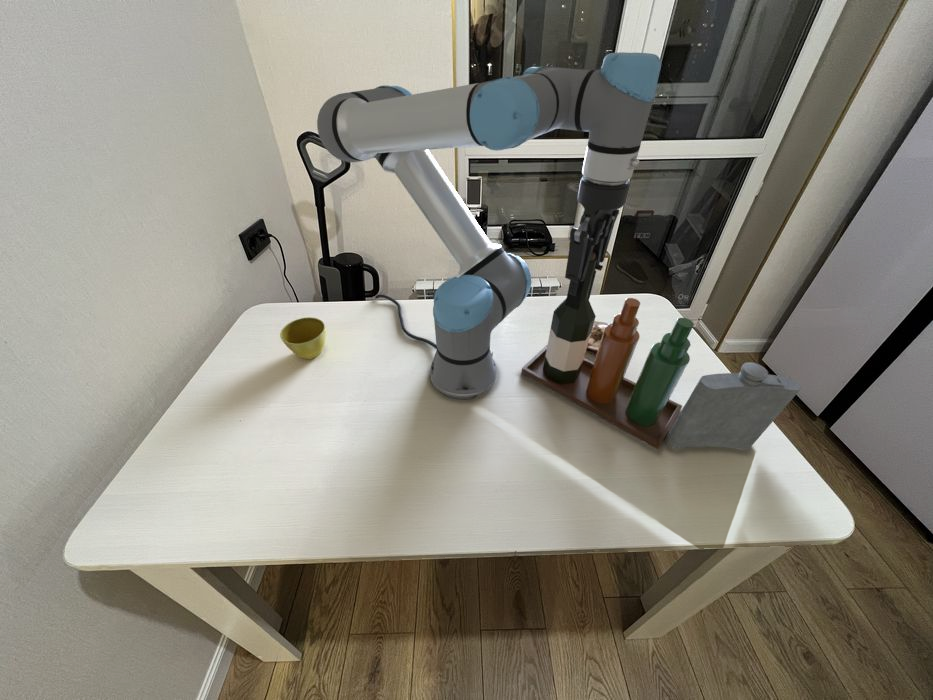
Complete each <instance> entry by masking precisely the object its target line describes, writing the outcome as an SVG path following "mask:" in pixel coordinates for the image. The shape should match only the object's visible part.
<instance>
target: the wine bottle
mask: <svg viewBox="0 0 933 700" xmlns="http://www.w3.org/2000/svg"><path fill="white" fill-rule="evenodd" d="M595 256H596V254H595V253H594V252H592V255H591V258H590V261H589V264H588V268H587V271H586V274H585V278H584V279H586V283H585V287H584V291H583V296H582V300H581V304H580V307H579V309H578V310H576V309H573V308H571V307H569V306H566V305H565V303H566V298H565V299H564V300H562V302H560V303H559V305H558V306H557V307H556V308H555V309H554V311H553V313H552V319H551V323H550V330H549V336H548V340H547V344H546V346H547V350H546V355H545V361H544V366H543V370H544V373H545V375H546V377H547V379H549V380H551V381H553V382H556V383H558V384H560V385H562V384H569V383H574V382H575V380H576V379H577V377H578V376H579V374H580V370H581V367H582V363H583V360H584V358H585V356H586V353H587V352H586V349H587V345H588V342H589V338H590V335H591V331H592V328H593V324H594V321H596V317H597V316H596V313H595V311H594V309H593V307H592V305H591V302H590V299H589V300H588V294H589V290H590V286H591V282H592V278H593V274H594V270H595V271H596V269H595V266H596V262H597V258H596V257H595Z"/></svg>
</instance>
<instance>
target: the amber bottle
mask: <svg viewBox="0 0 933 700" xmlns="http://www.w3.org/2000/svg"><path fill="white" fill-rule="evenodd" d="M640 306H641V301H639V300H638V299H637V298H633V297H628V298H625V299H624V303H623V305H622V308H621V311H620V313H617V314H615V315H614V317H613V319H612V322H611V323H607V324H608V325H607V326H606V327H605V329H604V332H603V335H602V339H601V342H600V345H599V348H598V352H597V355H595V358H594V365H593V368H592V371H591V374H590V378H589V381H588V384H587V387H586V393H587V395H588V397H589V398H590V399H592V400H593V401H595V402H597V403H600V404H609V403H612V402H613V401H614V400H615V399H616V396H617V394H618V391H619V389H620V386H621V383H622V381H623V378H625V375H626V373H627V371H628V368H629V366H630V363H631V361H632V358H633V355H634V353H635V351H636V348H637V345H638V343H639V341H640V336H641V335H640V332H639V331H638V330H637V329H638V326H639V323H640V321H639V319H638V318H637V314H638V312H639V309H640Z"/></svg>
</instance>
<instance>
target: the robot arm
mask: <svg viewBox="0 0 933 700" xmlns="http://www.w3.org/2000/svg"><path fill="white" fill-rule="evenodd" d="M661 68H662V60H661V58H660V57H659V55H657V54H655V53H649V52H624V51H623V52H610V53H608V54H606V55H605V56H604V58H603V62H602V65H601V66H600V68H599V69H578V68H567V67H566V68H565V67H555V66H552V65H545V66H530V67H528V68H526V69H525V71H523V73H522V74H521V75H516V76H507V77H500V78H496V79H493V80H488V81H483V82H476V83H471V84H464V85H460V86H453V87H448V88H442V89H436V90H431V91H426V92H419V93H412V92H410V90H408V89H406V88H404V87H402V86H398V85H379V86H376V87H374V88H369V89H363V90H356V91H350V92H342V93H338V94H336V95H333V96H331V97H329V98H328V99H327V100H326V101H325V102H324V103H323V104H322V106H321V107H320V109H319V111H318V113H317V119H316V128H317V134H318V137H319V140H320V142H321V144H322V146H323V147H324V148H325V150H326V151H327V152H328V153H329V154H330V155H332V157H334V158H336V159H338V160H339V161H342V162H346V163H359V162H364V161H369V160H371V159H376V161H377V162H378V164H379V165H380V167H381V169H383V171H384V172H386V173H391V174H395V176H396V177H397V178H398V181H399V182H400V183H401V185H402V186H403V187H404V188H405V190H406V192H407V193H408V194H409V196H410V197H411V198H412V200H413V201H414V203H415V205H416V206H417V207H418V209H419V210H420V212H421V213H422V214H423V216H424V217H425V219H426V220H427V222H428V223H429V225H430V226H431V227H432V229H433V231H434V232H435V233H436V234H437V236H438V238H439V239H440V240H441V242H442V243H443V244H444V246H445V247H446V249H447V251H448V252H449V253H450V254H451V256H452V257H453V259H454V260H455V262H456V263H457V265H458V267H459V270H458V277H457V276H453V277H450V278H449V279H446V280H445V281H444V282H442V283H441V284H440V285H439V286H438V288H437V289H436V291H435V292H434V296H433V307H432V315H433V322H434V334H435V342H434V341H431V340H430V339H427V338H424V337H420V336H417V335H415V334H412V333H411V332H410V331H409V330H407V328H406V327H405V322H404V318H403V312H402V306H401V304H400V303H399V302H398V301H397V300H396V299H394V298H393V297H391V296H389V295H386V294H382V293H381V294H380V293H379V294H377V295H375V296H374V298H375V299H379V298H383V299H386V300H389V301H390V302H392V303H393V304H394V305H396V307H397V313H398V319H399V322H400V327H401V330H402V332H403V333H404V334H405V335H406V336H407V337H409V338H411V339H412V340H416V341H419V342H423V343H426V344H427V345H429V346H431V347H432V348H434V349H435V350H436V351H435V353H434V357H433V359H432V362H431V365H430V380H431V383H432V385H433V387H434V388H435V389H436V390H437V391H438V392H439V393H441V394H442V395H444V396H446V397H448V398H452V399H458V400H470V399H475V398H478V396H479V395H482V394H483V393H486V392H487V391H488V390H489V389H491V387H493V385H494V383H495V381H496V380H497V366H496V362H495V360H494V358H493V355H494V351H491V334H492V332H493V330H494V329H495V328H496V327H497V326H498V325H499V324H501V323H502V322H503V321H504V320H505V319H506V318H507V317H508V316H509V315H510V314H511V313H512V312H513V311H514V310H515V309H516V308H518V307H520V306H521V305H522V304H523V302H524V300H525V299H526V298H528V295H529V294H530V292H531V288H532V274H531V271H530V268H529V267H528V265H527V263H526V262H525V260H524V259H523V258H521V257H520V256H519V255H515V254H514V253H510V252H506V250H505V249H504V248H503V246H502V245H501V244H498V243H493V242H491V241H490V239H489V238H488V237H487V235H486V234H485V232H484V230H483V229H482V228H481V226H480V225H479V223H478V222H477V220H476V219H475V217H474V215H472V213H471V211H470V210H469V208H468V207H467V205H466V204H465V202H464V201H463V199H462V198H461V196H460V195H459V194H458V192H457V191H456V188H454V185H452V183H451V181H450V180H449V179H448V177H447V176H446V174H445V173H444V171H443V170H442V168H441V166H439V164H438V162H437V161H436V159H435V158H434V155H432V154H431V151H430V150H440V149H441V150H442V149H443V150H444V149H458V148H470V147H485V148H487V149H488V150H490V151H496V152H497V151H504V150H509V149H514V148H517V147H519V146H521V145H522V144H524V143H526V142H529V141H531V140H532V139H535V138H537V137H539V136H542V135H544V134H547V133H549V132H552V131H554V130H557V129H558V130H559V129H560V130H569V131H578V132H583V133H584V132H585V133H586V132H588V141H587V145H586V150H585V155H584V160H583V165H582V170H581V174H582V177H581V178H580V183H579V187H578V193H577V199H576V200H577V202H578V204H580V205H581V206H582V207H583V209H584V210H583V212H582V215H581V218H580V220H579V227H578V228H576V227H572V228H571V229H570V232H569V238H570V242H569V247H568V248H569V249H568V255H567V260H566V268H565V275H564V278H565V279H567V280H569V284H568V290H567V295H566V297H565V299H566V303H565V305H566V306H569V307H571V308H573V309H576V310H578V309H579V307H580V304H581V300H582V296H583V291H584V287H585V283H586V279H584V278H585V274H586V271H587V268H588V264H589V261H590V258H591V255H592V252H594V253H595V254H596V256H595V257H596V258H597V262H596V266H595V270H594V274H593V278H592V282H591V286H590V290H589V294H588V300H589V301H590V299H591V294H592V290H593V286H594V282H595V278H596V275H597V271H602V269H603V268H604V265H602V263H603V262H604V261H605V258H606V254H607V250H608V247H609V244H610V241H611V237H612V234H613V230H614V227H615V223H616V221H617V219H618V216H619V214H620V209H621V208H622V207H624V205H626V201H627V198H628V195H629V194H628V193H629V189H630V187H631V183H630V180H631V179H632V177H633V174H634V170H635V168H636V167H638V166H639V164H640V160H639V159H637V158H638V156H639V152H640V149H641V145H642V141H643V137H644V135H645V131H646V127H647V125H648V124H647V123H648V121H649V116H650V114H651V110H652V108H653V104H654V101H655V99H656V91H657V86H658V83H659V77H660V73H661ZM600 263H601V264H600Z"/></svg>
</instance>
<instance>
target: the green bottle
mask: <svg viewBox="0 0 933 700" xmlns="http://www.w3.org/2000/svg"><path fill="white" fill-rule="evenodd" d="M694 326H695V323H694V322H693V321H692V320H691V319H689V318H686V317H678V318H677V319H676V321H675V323H674V325H673V327H672V329H671V332H667V333H664V334H663V336H662V338H661V339H660V342H656V343H654V344H653V345H652V346H651V347H650V350H649V352H648V354H647V357H646V359H645V362H644V364H643V366H642V368H641V370H640V373H639V375H638V378H637V380H636V381H635V383H636V385H635V387H634V389H633V392H632V394H631V396H630V398H629V401H628V403H627V405H626V408H625V413H626V415H627V417H628V418H629V419H630V420H631V421H632V422H634V423H635V424H637V425H640V426H652V425H654V424H655V423H656V422H657V420H658V419H659V417H660V415H661V413H662V411H663V409H664V407H665V406H666V404H667V402H668V400H670V398H671V397H672V394H673V392H674V391H675V389H676V387H677V386H678V383H679V381H680V380H681V377H683V374H684V372H685V371H686V368H687V366H688V365H689V363H690V361H691V359H690V358H691V357H690V355H689V353H688V351H689V349H690V347H691V341H690V340H689V339H688V338H689V336H690V334H691V332H692V329H693V328H694Z"/></svg>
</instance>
